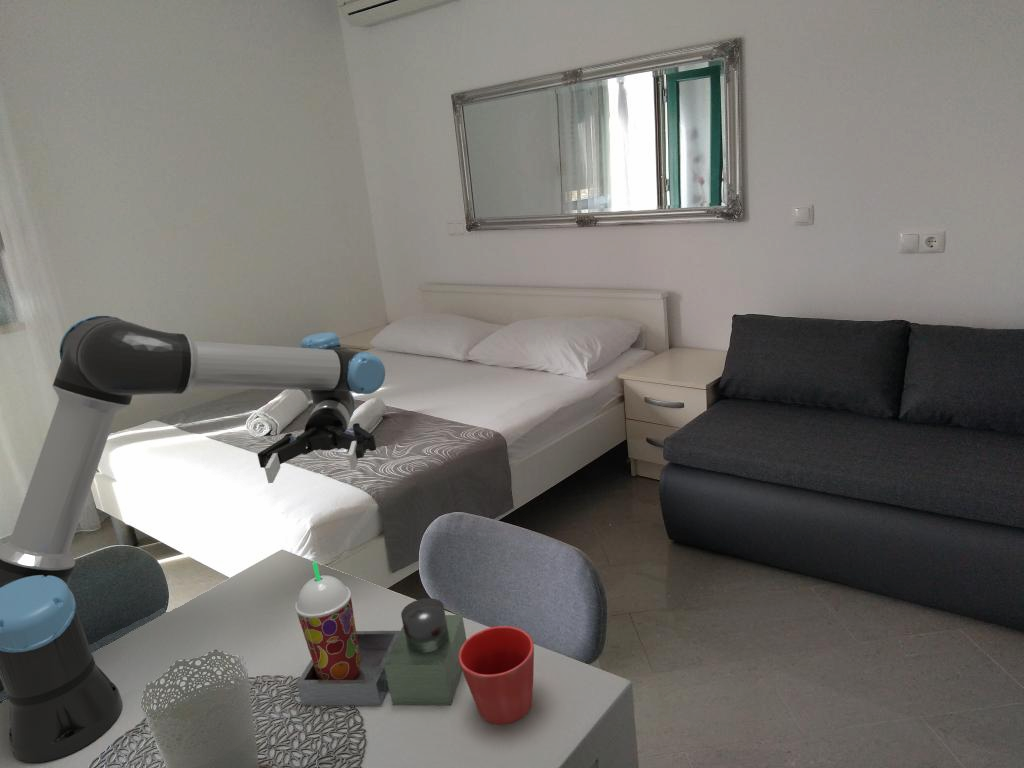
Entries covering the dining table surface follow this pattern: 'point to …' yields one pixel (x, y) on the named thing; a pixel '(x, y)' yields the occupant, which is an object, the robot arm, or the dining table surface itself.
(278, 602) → the dining table surface
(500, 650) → the flower pot
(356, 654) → the smoothie
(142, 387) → the robot arm
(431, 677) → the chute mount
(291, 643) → the dining table surface
